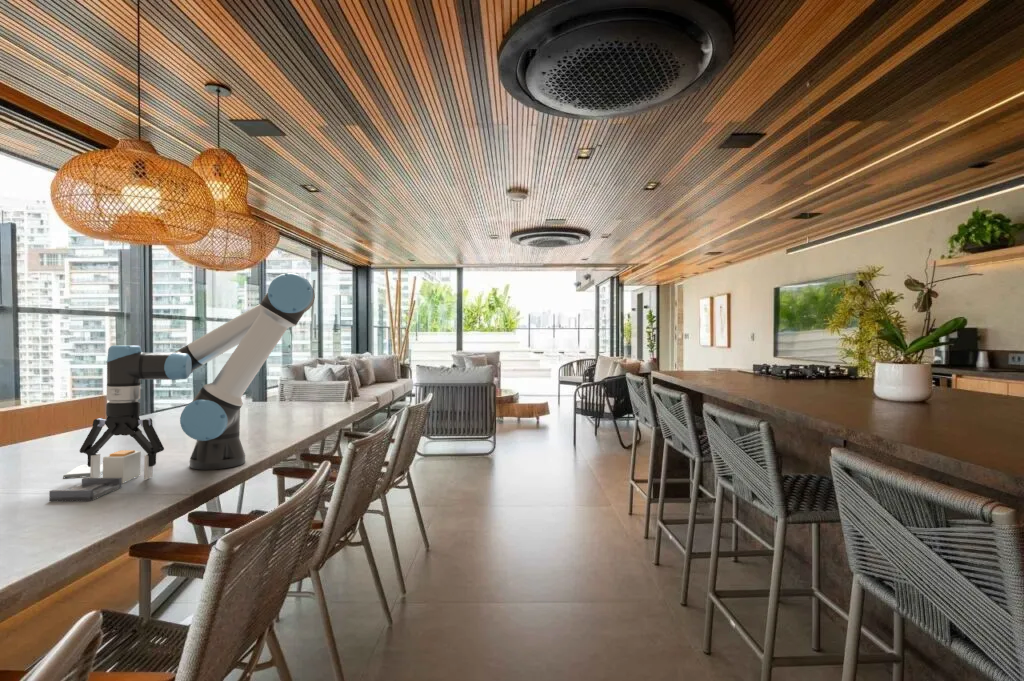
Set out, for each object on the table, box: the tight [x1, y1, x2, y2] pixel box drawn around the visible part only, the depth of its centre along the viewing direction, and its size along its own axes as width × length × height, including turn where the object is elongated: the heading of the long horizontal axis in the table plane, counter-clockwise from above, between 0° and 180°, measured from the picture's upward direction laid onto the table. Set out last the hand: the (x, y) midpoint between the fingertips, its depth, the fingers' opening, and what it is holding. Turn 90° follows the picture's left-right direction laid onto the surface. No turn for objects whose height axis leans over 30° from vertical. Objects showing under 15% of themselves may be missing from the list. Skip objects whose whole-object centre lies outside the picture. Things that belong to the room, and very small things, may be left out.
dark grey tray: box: [48, 477, 123, 502], centre depth 132 cm, size 9×12×2 cm
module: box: [102, 449, 142, 484], centre depth 146 cm, size 5×8×8 cm, turn 7°
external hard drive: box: [62, 463, 103, 479], centre depth 153 cm, size 2×8×12 cm
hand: (121, 478), depth 146 cm, fingers open, 13 cm apart
